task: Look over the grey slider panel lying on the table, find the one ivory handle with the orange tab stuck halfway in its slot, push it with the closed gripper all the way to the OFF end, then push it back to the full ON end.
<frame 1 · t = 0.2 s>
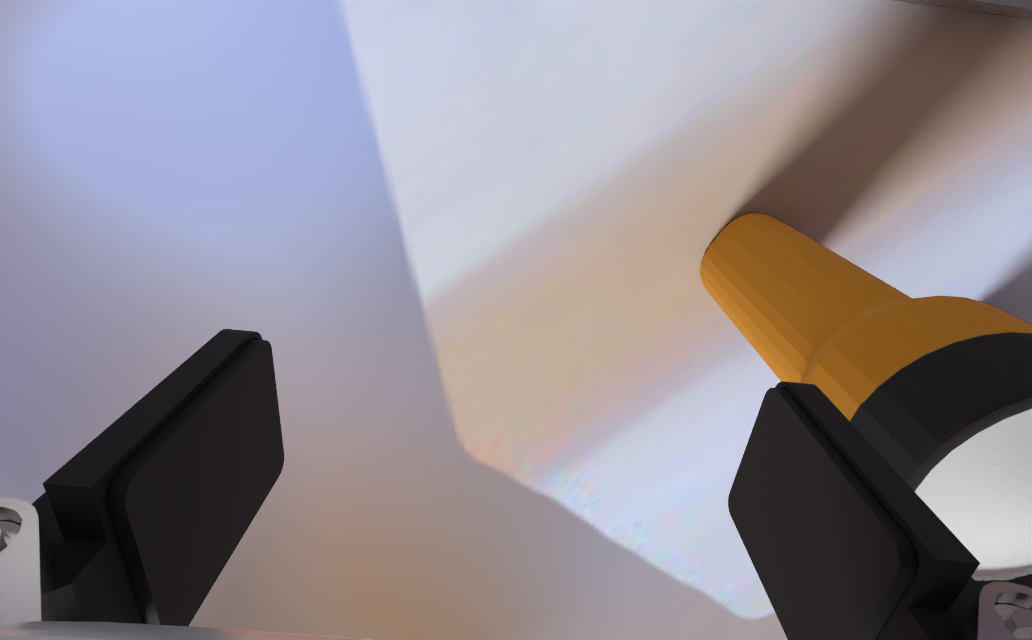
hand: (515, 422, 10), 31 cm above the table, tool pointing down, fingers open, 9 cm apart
flashlight: (749, 260, 41), on the table
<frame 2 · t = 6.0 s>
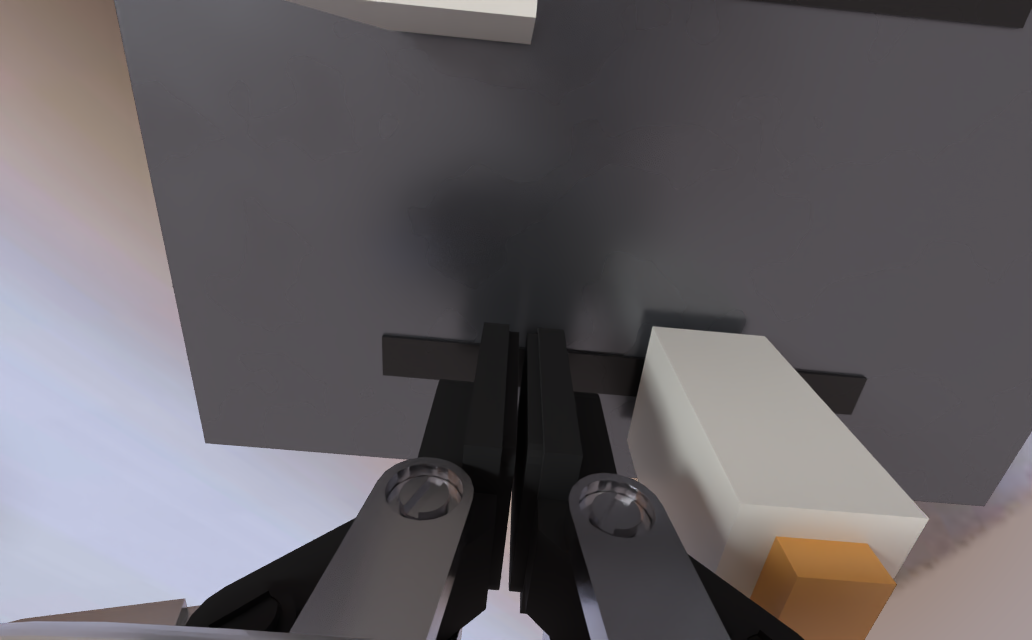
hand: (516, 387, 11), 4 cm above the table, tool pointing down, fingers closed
tripped breaker: (738, 479, 9), point 6 cm above the table, slide at 2.5 cm, touching gripper
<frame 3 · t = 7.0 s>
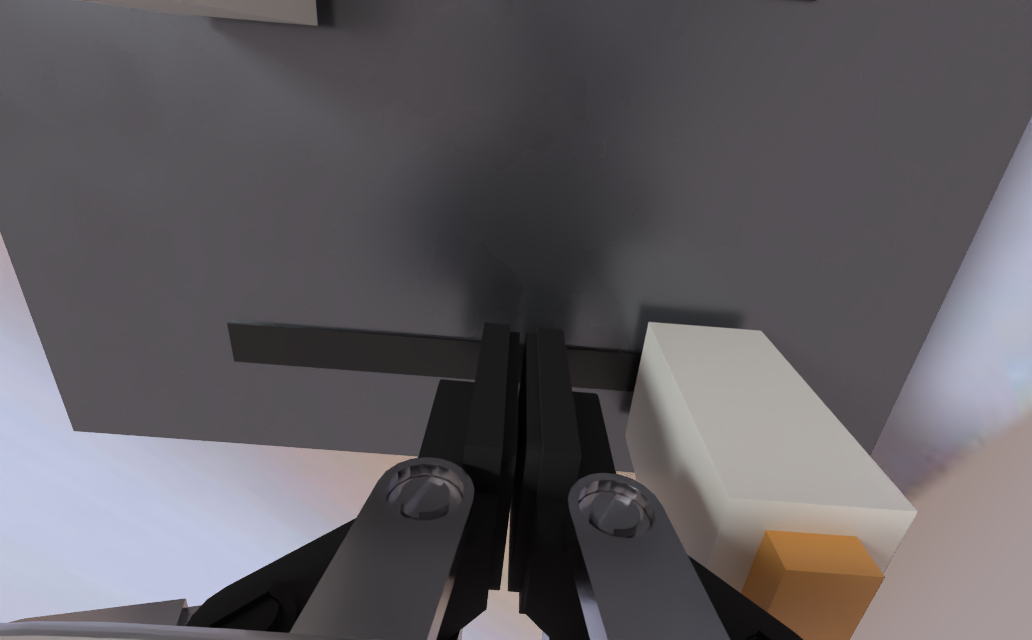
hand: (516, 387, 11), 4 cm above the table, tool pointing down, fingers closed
tripped breaker: (732, 473, 9), point 6 cm above the table, slide at -0.9 cm, touching gripper
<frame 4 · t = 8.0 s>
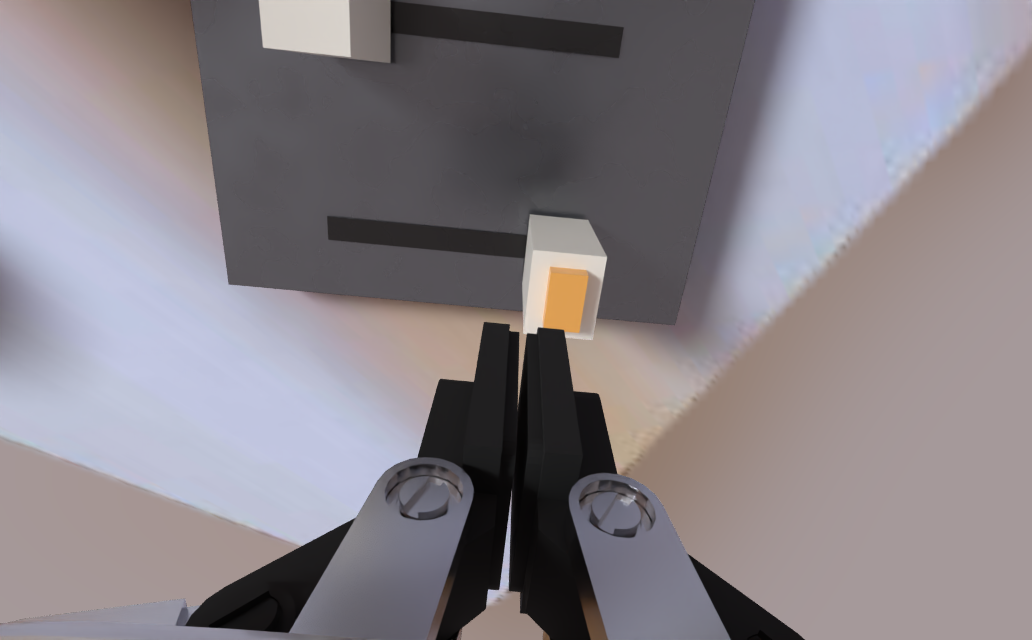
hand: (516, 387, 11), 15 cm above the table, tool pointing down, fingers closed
grey slider panel: (476, 33, 22), on the table
breaker b: (333, 2, 16), point 6 cm above the table, slide at 8.0 cm
tripped breaker: (559, 274, 19), point 6 cm above the table, slide at -0.1 cm
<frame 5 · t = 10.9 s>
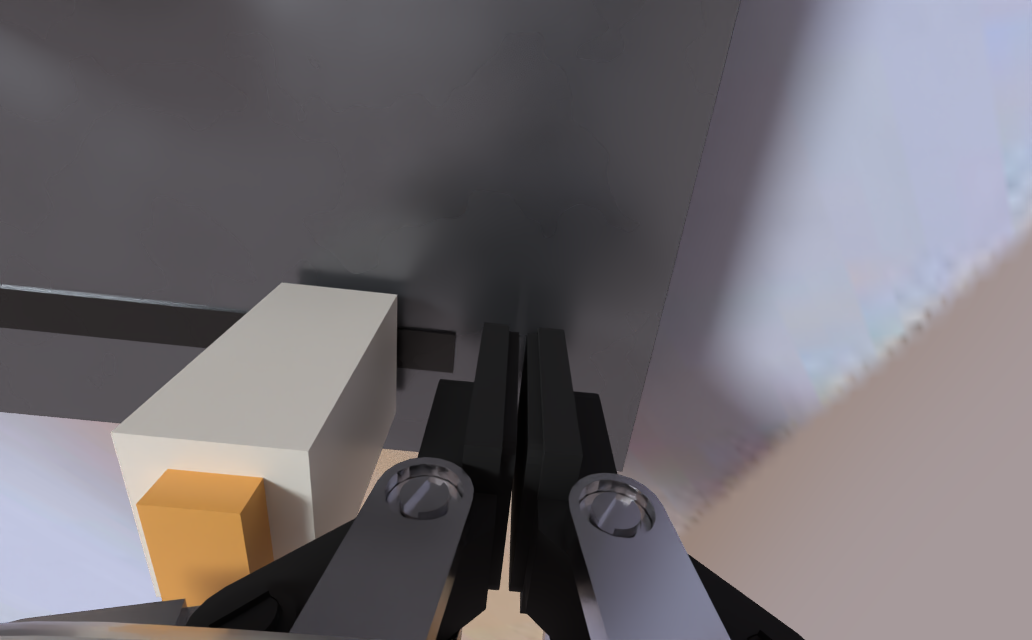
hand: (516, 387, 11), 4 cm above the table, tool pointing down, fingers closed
tripped breaker: (291, 429, 9), point 6 cm above the table, slide at 0.9 cm, touching gripper
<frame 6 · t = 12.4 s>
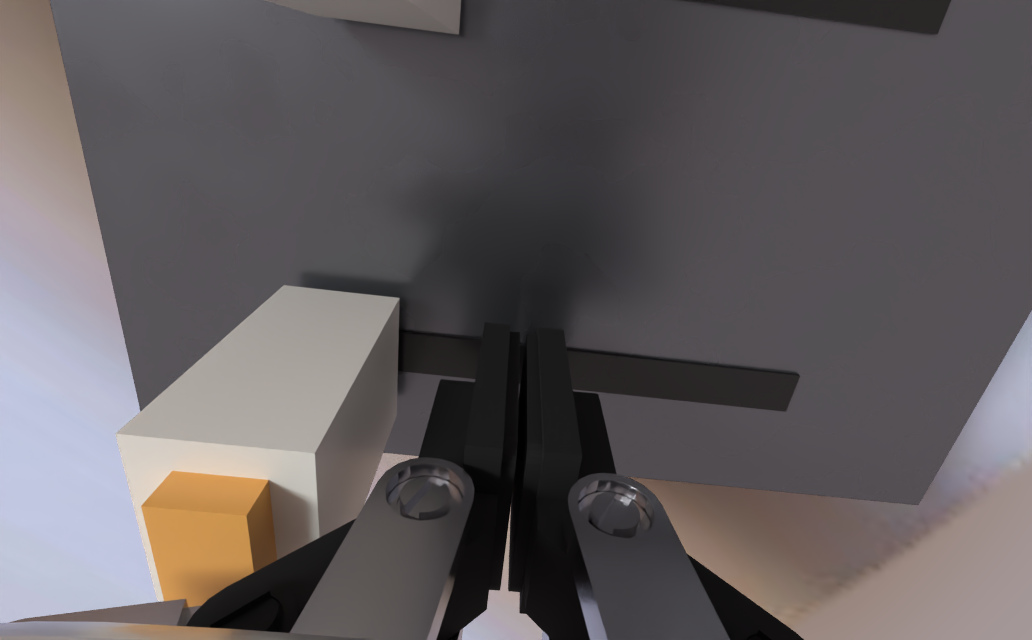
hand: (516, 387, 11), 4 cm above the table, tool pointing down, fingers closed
tripped breaker: (293, 432, 9), point 6 cm above the table, slide at 8.9 cm, touching gripper
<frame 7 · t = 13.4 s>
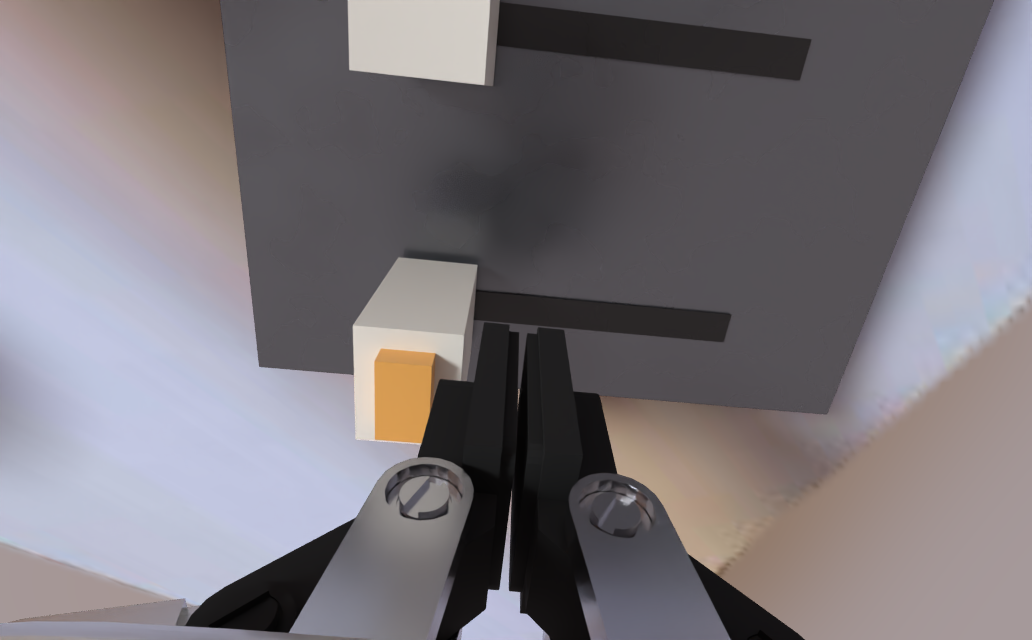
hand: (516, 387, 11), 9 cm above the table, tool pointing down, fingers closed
grey slider panel: (588, 45, 17), on the table
breaker b: (438, 1, 11), point 6 cm above the table, slide at 8.0 cm
tripped breaker: (422, 346, 14), point 6 cm above the table, slide at 8.1 cm
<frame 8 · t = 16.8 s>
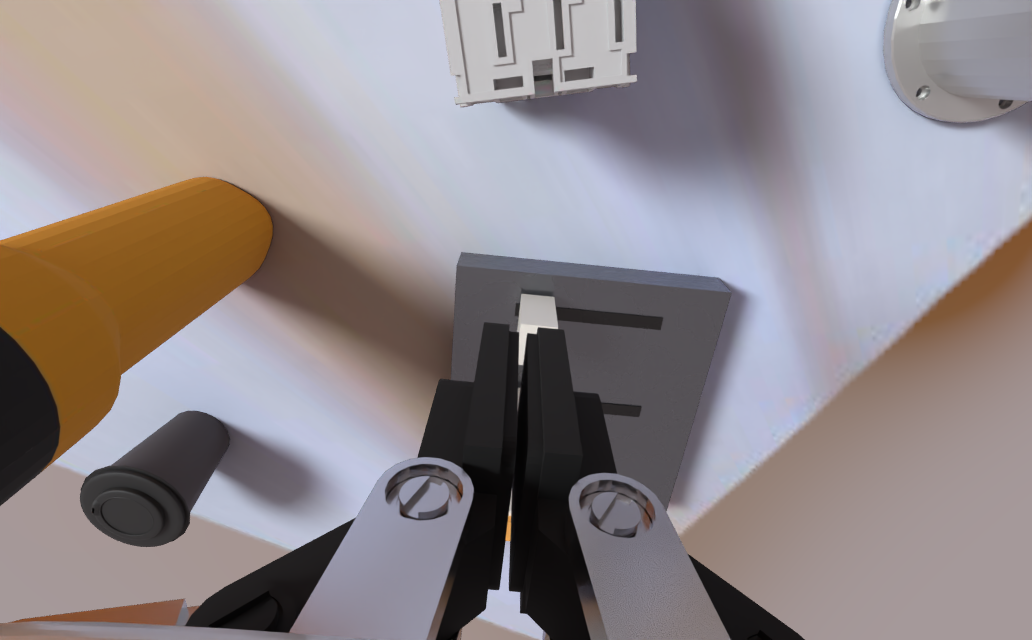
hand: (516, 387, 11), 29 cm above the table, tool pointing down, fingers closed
grey slider panel: (570, 385, 45), on the table
breaker b: (524, 423, 40), point 6 cm above the table, slide at 8.0 cm
flashlight: (225, 228, 40), on the table
coffee cup: (201, 433, 48), on the table
tripped breaker: (513, 504, 43), point 6 cm above the table, slide at 8.1 cm
breaker a: (536, 329, 36), point 6 cm above the table, slide at 8.0 cm
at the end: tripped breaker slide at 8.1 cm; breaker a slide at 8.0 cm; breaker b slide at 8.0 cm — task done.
